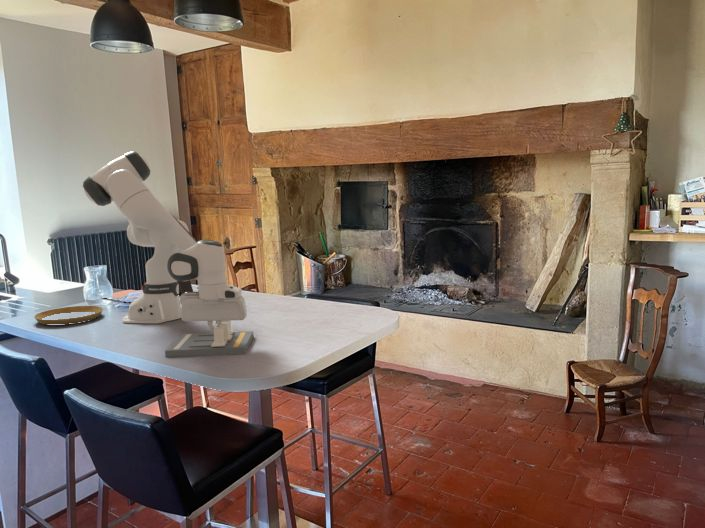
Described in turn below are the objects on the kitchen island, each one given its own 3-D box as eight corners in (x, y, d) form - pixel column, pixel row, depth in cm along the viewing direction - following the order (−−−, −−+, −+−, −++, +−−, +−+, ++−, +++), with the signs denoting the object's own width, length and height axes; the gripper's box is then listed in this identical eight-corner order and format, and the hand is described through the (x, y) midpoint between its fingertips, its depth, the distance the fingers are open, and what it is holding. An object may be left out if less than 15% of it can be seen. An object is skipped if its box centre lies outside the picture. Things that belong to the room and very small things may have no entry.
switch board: (165, 357, 164) (164, 350, 164) (181, 339, 182) (181, 333, 181) (245, 353, 165) (244, 347, 165) (253, 337, 183) (252, 331, 182)
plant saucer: (82, 310, 231) (81, 302, 230) (116, 316, 218) (115, 308, 217) (22, 323, 211) (21, 315, 210) (56, 331, 198) (55, 322, 197)
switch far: (219, 335, 177) (218, 320, 176) (221, 331, 181) (220, 317, 180) (231, 335, 177) (230, 320, 176) (233, 331, 181) (233, 316, 180)
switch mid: (217, 340, 171) (216, 325, 170) (220, 336, 175) (219, 321, 174) (230, 340, 171) (229, 325, 170) (232, 336, 175) (231, 321, 175)
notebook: (98, 299, 253) (97, 295, 253) (130, 292, 267) (130, 288, 267) (132, 305, 238) (132, 301, 238) (164, 298, 252) (164, 294, 251)
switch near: (211, 346, 165) (210, 330, 164) (214, 342, 169) (213, 327, 168) (224, 346, 165) (223, 330, 164) (227, 342, 169) (226, 326, 169)
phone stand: (194, 294, 257) (192, 269, 255) (183, 296, 252) (181, 271, 250) (181, 292, 262) (179, 268, 260) (171, 294, 257) (169, 269, 255)
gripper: (176, 294, 167) (179, 337, 169) (243, 292, 168) (245, 335, 170) (182, 290, 173) (184, 332, 175) (246, 288, 174) (248, 330, 176)
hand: (215, 333), depth 172 cm, fingers closed
